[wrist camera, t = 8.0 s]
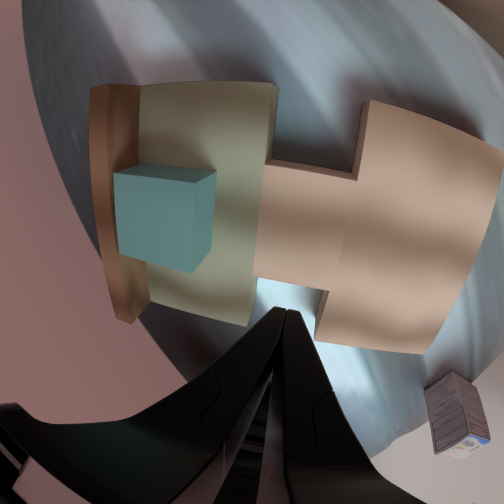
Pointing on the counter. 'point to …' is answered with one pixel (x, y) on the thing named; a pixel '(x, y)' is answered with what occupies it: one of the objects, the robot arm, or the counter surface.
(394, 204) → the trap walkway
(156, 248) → the teal block
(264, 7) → the counter surface
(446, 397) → the medicine box
